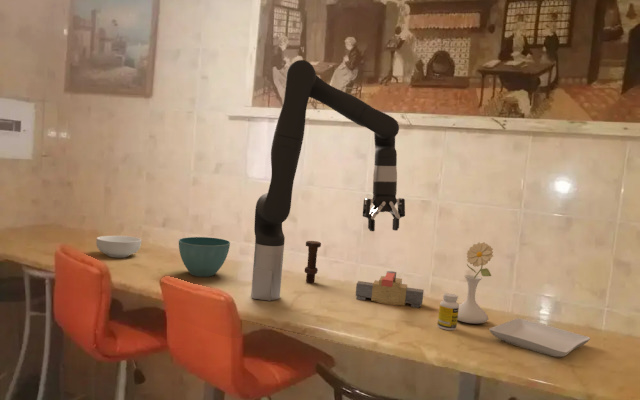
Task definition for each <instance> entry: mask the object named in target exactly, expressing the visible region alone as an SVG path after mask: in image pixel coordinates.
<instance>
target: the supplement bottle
mask: <svg viewBox="0 0 640 400" xmlns="http://www.w3.org/2000/svg"><path fill="white" fill-rule="evenodd" d="M458 297H459V296H458V295H457V294H455V293H449V292H445V293H443V297H442V299H443V300H441V301H440V303H439V310H438V318H437V327H438V328H439V329H442V330H447V331H455V330H456V329H457V325H458V320H457V318H458V310H459V305H460V303H458Z"/></svg>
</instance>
